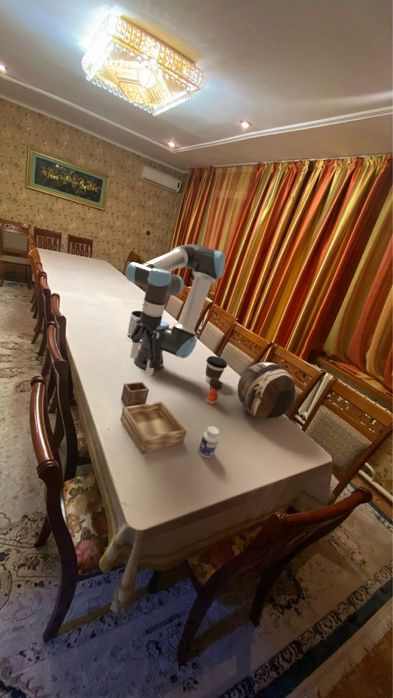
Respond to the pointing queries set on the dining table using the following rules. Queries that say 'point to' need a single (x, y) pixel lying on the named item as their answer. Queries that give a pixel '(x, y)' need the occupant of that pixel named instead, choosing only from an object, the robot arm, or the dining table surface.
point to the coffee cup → (214, 367)
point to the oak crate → (152, 426)
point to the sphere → (266, 390)
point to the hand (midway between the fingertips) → (140, 365)
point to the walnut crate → (134, 394)
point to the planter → (133, 321)
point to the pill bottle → (209, 442)
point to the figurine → (213, 390)
